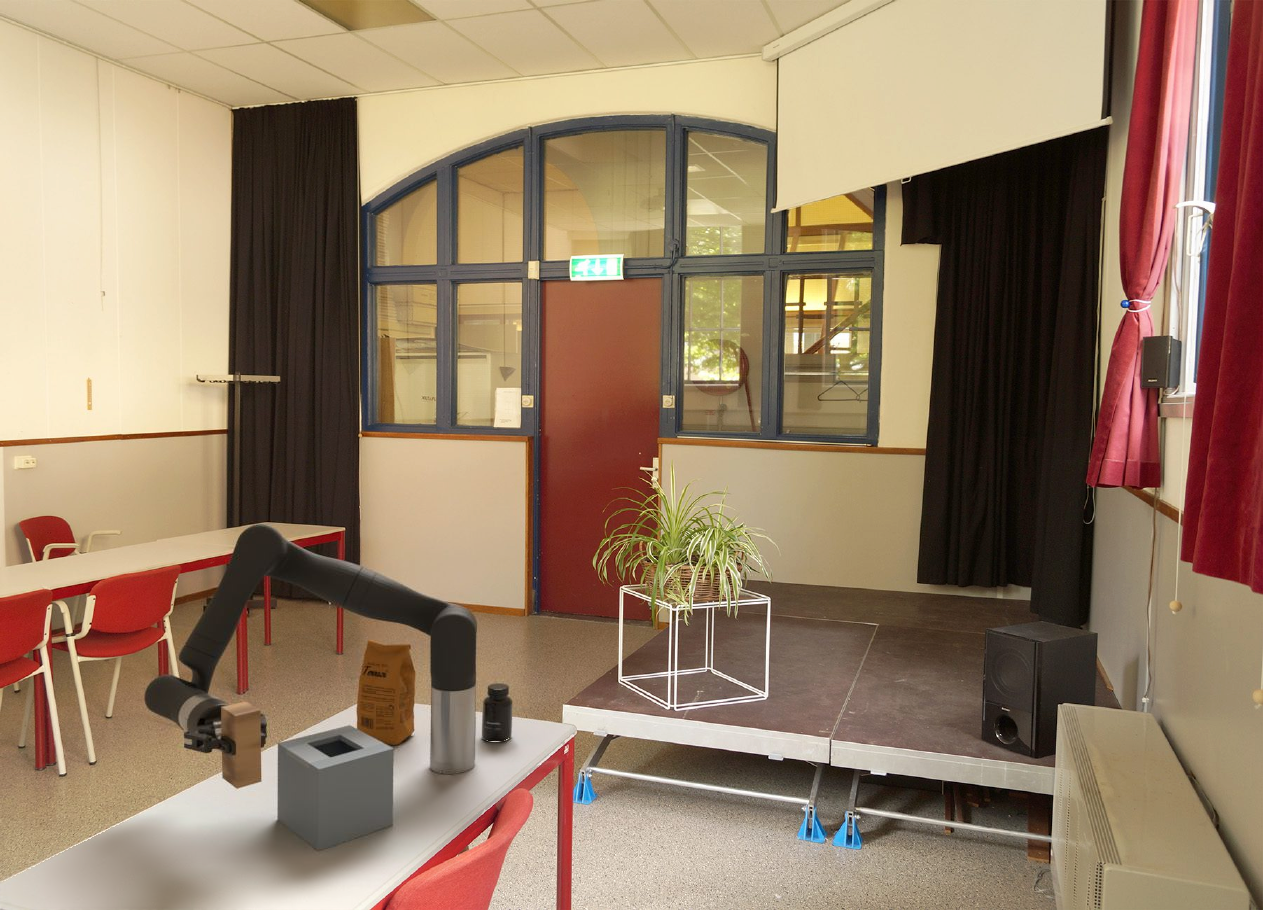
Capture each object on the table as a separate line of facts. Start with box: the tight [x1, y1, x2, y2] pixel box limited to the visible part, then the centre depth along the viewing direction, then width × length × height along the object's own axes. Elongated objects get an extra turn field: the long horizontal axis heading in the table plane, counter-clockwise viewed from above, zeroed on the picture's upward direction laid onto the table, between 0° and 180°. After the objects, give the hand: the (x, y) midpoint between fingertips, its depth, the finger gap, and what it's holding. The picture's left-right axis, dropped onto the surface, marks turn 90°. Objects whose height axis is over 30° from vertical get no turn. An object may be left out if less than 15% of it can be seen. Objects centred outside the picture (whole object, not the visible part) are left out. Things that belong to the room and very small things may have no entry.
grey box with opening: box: [276, 724, 395, 852], centre depth 160 cm, size 16×14×14 cm
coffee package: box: [356, 639, 416, 746], centre depth 203 cm, size 10×12×22 cm
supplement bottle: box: [481, 682, 514, 742], centre depth 204 cm, size 7×7×12 cm
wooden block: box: [221, 701, 262, 790], centre depth 148 cm, size 6×4×12 cm, turn 45°
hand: (248, 745), depth 146 cm, fingers closed on wooden block, 4 cm apart
